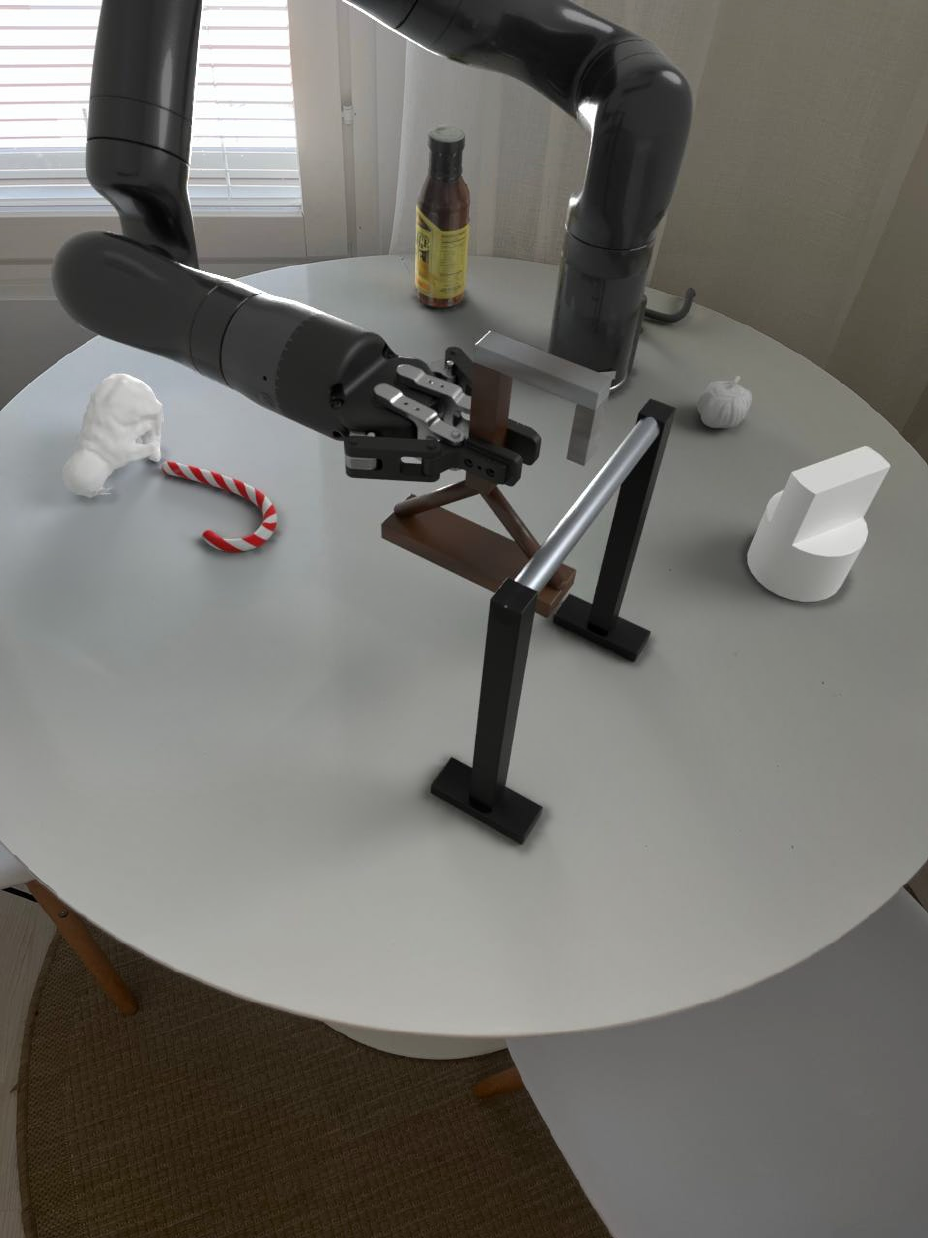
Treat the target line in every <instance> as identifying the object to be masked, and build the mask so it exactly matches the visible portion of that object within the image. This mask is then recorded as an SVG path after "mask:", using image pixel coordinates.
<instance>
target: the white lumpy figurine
mask: <svg viewBox="0 0 928 1238" xmlns="http://www.w3.org/2000/svg"><path fill="white" fill-rule="evenodd" d="M86 405H87V406H86V411H85V412H84V414H83V417H82V423H81V427H80V429H79V431H78V432H77V437H76V439H77V451H75V452H74V453H73V454H72V455H71V457H70V458H69V459H68V460H67V462H66V463H65V465H64V467H63V469H62V479H63V482H64V483H65V485H66V488H67V489H68V490H69V491H71V492H72V493H73V494H75V495H78V496H83V497H86V498H88V499H92V498H93V497H95V496H96V497H97V496H103V495H112V494H113V493H112V492H109V491H111V490H112V489H113V488H114V487H112V486H110V487H105V483H106V481H107V479H108V478H109V477H110V476H112V474H113V472H114V471H116V470H117V469H121V468H124V467H125V466H127V464H129V463H133V462H135V461H136V462H138V461H140V460H143V459H145V458H148V459H149V460H151V461H152V462H154V463H159V462H160V460H161V458H162V452H161V442H162V427H163V425H164V423H165V421H164V418H165V417H164V404H163V403H161V402H160V400H158V399H157V397H156V394H155V393H154V391H153V390H152V388H151V387H150V386H149V385H148V384H146V382H144V381H143V380H140V379H139V378H137V377H134V376H132V375H129V374H128V373H127V374H126V373H112V374H110V375H109V376H108V377H106V378H104V379H102V380H101V382H100V383H99V384H98V385H97V387H96V388H95V389H94V390H92V392H91V394H90V396H89V401H88V403H87V404H86ZM138 438H140V440H141V442H142V443H139V442H137V439H138Z"/></svg>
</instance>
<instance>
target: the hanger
mask: <svg viewBox="0 0 928 1238" xmlns="http://www.w3.org/2000/svg"><path fill="white" fill-rule="evenodd" d="M473 356H474V357H473V362H474V365H473V379H472V393H471V407H470V415H469V435H468V437H469V436H470V435H471V434H473V435H475V436H478V437H480V438H482V439H485V440H487V441H489V442H492V443H495V444H497V445H500V446H502V447H504V448H505V443H506V434H507V425H508V418H509V416H510V406H511V398H512V388H513V381H514V379H515V380H517V381H519V382H522V383H525V384H526V385H529V386H532V387H535V388H537V389H539V390H542V391H545V392H547V393H548V394H552V395H554V396H556V397H559V398H562V399H564V400H567V401H570V402H572V403H575V408H574V414H573V418H572V419H573V420H572V426H571V431H570V432H571V433H570V436H569V442H568V448H567V453H566V460H568V461H570V462H573V463H575V464H578V465H580V466H582V467H584V466H586V465H587V463H588V462H589V461H590V460H591V458H592V457H594V455H595V454H596V453H597V451H598V449H599V443H600V440H601V439H600V438H601V433H602V429H603V424H604V420H605V414H606V410H607V406H608V400H609V395H610V394H609V391H610V387H611V382H612V378H611V377H609V376H606V375H604V374H601V373H598V372H596V371H593V370H591V369H588V368H585V367H583V366H580V365H578V364H575V363H573V362H570V361H567V360H565V359H562V358H560V357H557V356H555V355H552V354H549V353H548V351H545V350H541V349H540V348H537V347H534V346H531V345H529V344H526V343H523V342H521V341H518V340H516V339H513V338H510V337H508V336H505V335H502V334H501V333H498V332H495V331H492V330H489V331H488V333H486V334H485V335H484V336H483V337H482V338H481V339H480V340H478V341H477V342H476V343H475V345H474V354H473ZM498 485H499V484H494V483H492V482H490V481H487V479H486V480H485V479H483V478H481V477H478V476H476V475H474V474H472V473H469V472H467V471H465V478H464V479H462V480H460V481H457V482H455V483H452V484H448V485H446V486H443V487H440V488H437V489H433V490H432V491H429V492H426V493H423V494H420V495H416V494H414V493H410V494H409V495H408V496H407V497H406V498H405V499H404V500H403V501H400V502H397V503H396V504H395V505H394V507H393V511H392V512H391V513H390V514H389V515H388V516H387V517H386V518H385V519H384V520H383V521H382V522H381V523H380V535H381V536H380V538H381V539H383V540H384V541H387V542H389V543H391V544H393V545H395V546H396V547H399V548H401V549H403V550H405V551H407V552H409V553H411V554H414V555H416V556H418V557H419V558H422V559H424V560H426V561H428V562H430V563H432V564H434V565H437V566H438V567H440V568H442V569H445V570H446V571H449V572H451V573H453V574H455V575H456V576H459V577H461V578H463V579H465V580H467V581H469V582H471V583H473V584H475V585H477V586H479V587H481V588H484V589H486V590H488V591H490V592H492V593H493V594H495V593H496V591H497V590H498V589H499V588H500V586H501V585H502V584H503V583H504V581H505V580H506V579H507V578H510V579H512V580H515V578H516V577H517V576H518V575H519V573H520V572H521V571H522V570H523V568H524V567H525V566H526V564H527V563H528V562H529V561H530V559H531V558H532V557H533V556H534V554H535V553H536V552H537V550H538V549H539V548H540V547H541V544H540V543H539V542H538V540H537V539H536V538H535V536H534V535H533V533H532V532H531V531H530V529H529V528H528V526H527V525H526V523H524V521H523V520H522V518H521V517H520V515H519V514H518V513H517V512H516V510H515V509H514V508H513V506H512V505H511V504H510V502H509V500H508V499H507V498H506V497H505V496H504V494H503V493H502V491H501V490H500V488H499V487H498ZM478 495H480V496H481V497H482V499H483V500H484V501H485V504H487V505H488V507H489V508H490V509H491V511H492V512H493V513H494V515H495V517H496V518H497V519H498V520H499V521H500V523H501V524H502V526H503V528H504V529H505V530H506V531H507V532H508V534H509V535H510V537H511V538H512V539H511V538H509V537H507V536H504V535H503V534H500V533H498V532H496V531H494V530H492V529H489V528H487V527H486V526H483V525H480V524H479V523H477V522H474V521H472V520H470V519H467V518H466V517H463V516H461V515H459V514H457V513H455V512H453V511H450V510H448V509H446V508H444V506H447V505H450V504H452V503H456V502H459V501H462V500H465V499H467V498H468V499H469V498H471V497H474V496H478ZM576 575H577V569H575V568H573V567H571V566H570V565H567V564H565V563H564V562H563V563H562V564H561V565H560V567H559V568H558V569H557V571H556V572H555V573H554V575H553V576H552V577H551V579H550V580H549V581H548V583H547V584H546V585H545V587H544V588H543V589H542V591H541V592H540V593H539V595H538V596H537V602H536V608H535V614H537V615H539V616H541V617H543V618H545V619H548V620H549V618H550V617H551V616H552V614H553V613H554V611H556V610H557V607H559V605H560V603H562V601H563V599H565V597H566V596H567V594H568V592H569V591H570V589H571V588H572V587H573V585H574V584H575V579H576Z"/></svg>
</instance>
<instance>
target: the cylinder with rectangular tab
mask: <svg viewBox="0 0 928 1238" xmlns="http://www.w3.org/2000/svg"><path fill="white" fill-rule="evenodd" d="M890 469H891V465H890V463H889V462H888V461H887V460H886V459H885V457H883V456H882V455H881V454H880V453H879V452H877V451H875V450H874V449H873V448H871V447H870V446H867V445H864V446H861V447H858V448H855V449H853V450H850V451H847V452H844V453H841V454H839V455H835V456H833V457H830V458H827V459H825V460H821V461H819V462H816V463H813V464H810V465H808V466H805V467H802V468H798V469H796V470H794V471H791V473H790V475H789V477H788V479H787V482H786V484H785V487H784V489H782V490H780V491H778V492H776V493H775V494H774V495H773V496H772V497H771V498H770V499H769V500H768V503H767V505H766V507H765V509H764V512H763V515H762V517H761V519H760V522H759V524H758V527H757V529H756V532H755V534H754V537H752V541H751V544H750V546H749V548H748V551H747V553H746V557H747V558H746V559H747V565H748V568H749V571H750V573H751V574H752V575H753V577H754V578H755V580H756V581H757V582H758V583H759V584H760V585H761V586H763V587H764V588H765V589H766V590H768V591H769V592H772V593H773V594H775V595H777V596H778V597H782V598H785V599H787V600H791V601H795V602H802V603H813V602H815V603H816V602H821V601H824V600H828V599H829V598H831V597H832V596H834V595H835V594H837V592H838V591H839V590H840V588H841V587H842V586H843V583H844V582H845V580H846V579H847V577H848V574H849V573H850V572H851V569H852V568H853V566H854V564H855V562H856V560H857V558H858V557H859V555H860V553H861V551H862V549H863V548H864V546H865V544H866V542H867V539H868V535H869V530H868V524H867V522H866V519H865V518H864V517H865V516H866V513H867V511H868V510H869V508H870V507H871V504H872V502H873V501H874V498H875V497H876V495H877V493H878V491H879V489H880V487H881V485H882V484H883V481H884V480H885V478H886V475H888V472H889V470H890Z"/></svg>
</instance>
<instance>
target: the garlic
mask: <svg viewBox="0 0 928 1238" xmlns="http://www.w3.org/2000/svg"><path fill="white" fill-rule="evenodd" d="M740 380H741V376H739V375H736V376H735V378H734V380H733V381H730V380H729V381H727V380H719V381H712V382H710V383H709V384H708V385H707V387H706V388H705V389H704V391H703V392H702V393H701V395H700V396H699V398H698V400H697V403H696V409H697V411H698V413H699V415H700V420H701V422H702V423H703V424H704V425H705V426H707V427H709V428H711V429H731V428H735V427H736V426H738V425H740V423H741V422H742V421H743V419H744V418H745V417H746V416H747V414H748V412H749V410H750V408H751V405H752V402H753V395H752V392H751V391H750V390H749V389H747V388H745V387H743V386H741V385H740V384H738V382H739V381H740Z"/></svg>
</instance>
